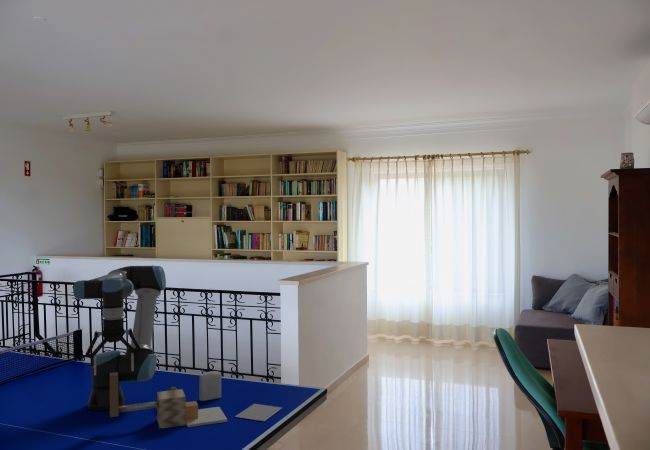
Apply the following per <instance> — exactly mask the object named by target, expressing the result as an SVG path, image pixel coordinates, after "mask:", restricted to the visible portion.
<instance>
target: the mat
mask: <svg viewBox="0 0 650 450" xmlns="http://www.w3.org/2000/svg"><path fill="white" fill-rule="evenodd" d="M227 422H228V418H227V417H226V415H225V413H224V412H223V410H222V409H221V407H220V406H216V407H215V406H214V407H208V408H207V407H206V408H200V409H199V408H198V419H191V420H186V425H185V426H186V427H187V428H192V427H199V426H200V427H201V426H205V425H214V424H220V423H227Z"/></svg>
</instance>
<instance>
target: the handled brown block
mask: <svg viewBox="0 0 650 450" xmlns="http://www.w3.org/2000/svg"><path fill="white" fill-rule="evenodd" d="M158 407H159V401H157V400H156V401H149V402H140V403H133V404H124V405H123V406H118V372H115V373H110V410H109V417H110V418H113V417H119V413H125V412H126V413H127V412H133V411H141V410H149V409H150V410H151V409H155V408H156V409H157V408H158Z"/></svg>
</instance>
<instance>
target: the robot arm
mask: <svg viewBox="0 0 650 450" xmlns="http://www.w3.org/2000/svg"><path fill="white" fill-rule="evenodd" d="M166 287H167V279H166V274H165V269H164V268H163V267H162V266H161V265H127V266H123V267H119V268H116V269H112V270H111V271H109V272H108V273H107V274H105V275H102V276H99V277H96V278H93V279H89V280H87V279H86V280H84V279H82V280H76V281H75V283H74V284H73V287H72V288H73V289H72V293H73V297H74V298H75V299H77V300H96V299H97V300H102V318H103V320H102V331H97V330H95V331H94V334H93V338H92V340H91V342H90V344H89V346H88V348H87V350H86V352H85V354H84V355H85V358H89V360H90V361H89V362H90V367H91V392H90V394H89V398H88V401H87V409H89V411H93V412H94V411H96V412H105V410H106V411H110V373H115V372H118V406H124V405H126V404H125V403H126V402H125V401H126V398H125V395H124V392H123V390H122V388H121V382H122V383H123V382H124V383H126V382H127V383H128V382H133V383H134V382H136V383H137V382H139V383H141V382H149V381H150V380H152V378H153V377H154V375H155V373H156V369H157V363H158V362H157V360H158V359H157V355H156V354H155V353H154V349H152V347H151V346H152V340H153V339H152V338H153V330H154V325H155V324H154V323H155V317H156V315H155V314H156V308H157V307H156V306H157V300H158V297H160V296H161V292H162V291H165V290H166ZM133 292H134V293H135V295H136V296H137V298H136V300H137V301H136V307H135V314H134V321H133V328H129V329H125V328H124V327H125V325H124V324H125V323H124V322H125V320H124V316H125V315H124V299H126V298H128V297H130V296H131V295H132V294H133ZM125 334H127V336H129V337H130V339H131V341H130V342H131V343H130V342H129V341H127V339H125V337H124V335H125ZM101 336H102V338H103V339H102V341H101V342H100V343H99V344H98V345H97V346H96V348H95V349H94V350H93V348H94V346H95V344H96V342H97V340H98V338H100V337H101ZM119 342H121V343H122V344H123V345H124V346H126V348H127V349H126V351H125V354H121V353H122V352H121V351H120V350H117V349H115V350H109V351H103V352H101V353H99V352H100V350H101V349H102V348H103V347H104V346H105V345H106V343H109V344H110V343H119ZM92 350H93V351H92Z"/></svg>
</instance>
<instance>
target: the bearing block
mask: <svg viewBox="0 0 650 450" xmlns="http://www.w3.org/2000/svg"><path fill="white" fill-rule="evenodd" d="M156 401H159V407H158V408H156V413H157V414H156V416H157V417H156V421H157V424H158V427H159V429H160V428H161V429H166V428H167V429H168V428H174V427H179V426H187V425H186V402H187V399H186V394H185V392H184V390H183V388H181V389H180V388H179V389H178V390H171V391H157V392H156Z"/></svg>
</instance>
